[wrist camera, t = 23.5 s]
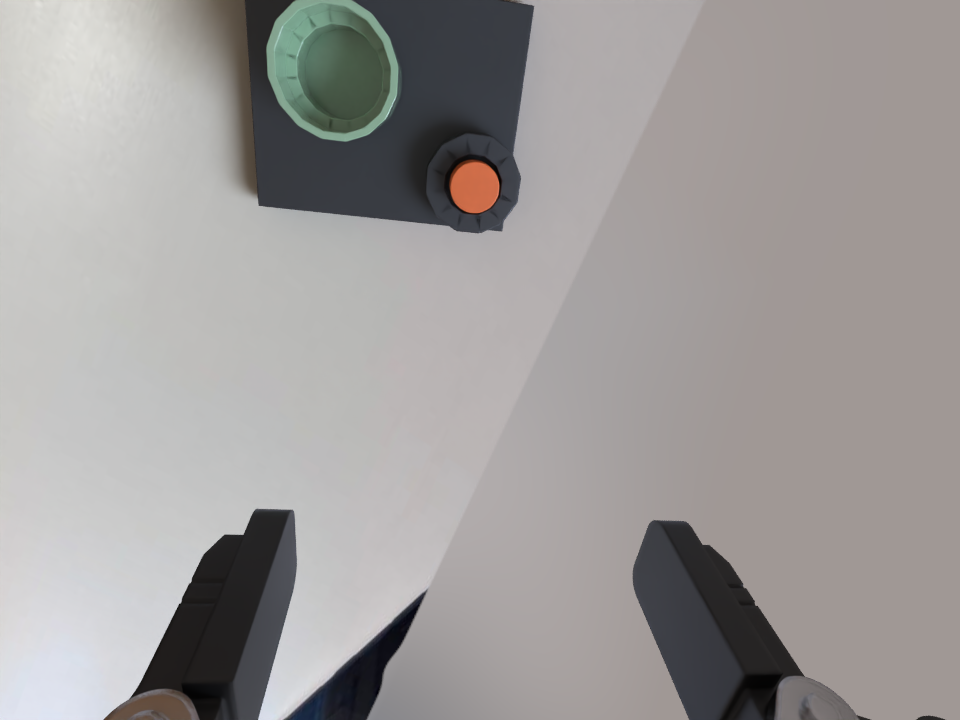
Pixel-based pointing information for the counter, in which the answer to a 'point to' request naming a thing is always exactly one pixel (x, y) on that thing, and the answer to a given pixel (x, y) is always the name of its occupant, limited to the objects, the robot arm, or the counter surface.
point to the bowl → (333, 68)
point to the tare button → (474, 186)
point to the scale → (405, 117)
